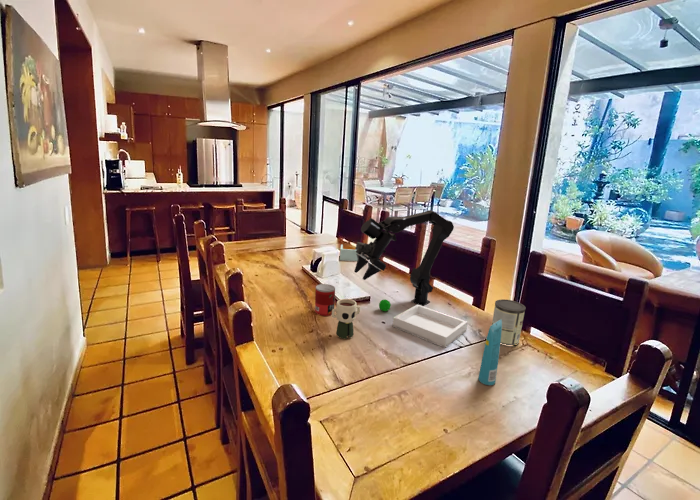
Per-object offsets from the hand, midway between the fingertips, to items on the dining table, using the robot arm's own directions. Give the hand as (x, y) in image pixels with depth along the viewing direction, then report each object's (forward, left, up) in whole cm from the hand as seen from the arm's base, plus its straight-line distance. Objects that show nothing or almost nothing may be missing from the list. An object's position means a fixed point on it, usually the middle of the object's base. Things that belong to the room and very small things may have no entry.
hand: (359, 275), depth 153 cm
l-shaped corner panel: (-56, -52, -16) cm, 78 cm away
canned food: (+13, -7, -15) cm, 21 cm away
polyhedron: (-7, +9, -15) cm, 19 cm away
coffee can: (-19, +55, -15) cm, 60 cm away
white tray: (-6, +31, -15) cm, 35 cm away
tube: (+12, +60, -15) cm, 63 cm away
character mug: (+22, +12, -15) cm, 29 cm away
